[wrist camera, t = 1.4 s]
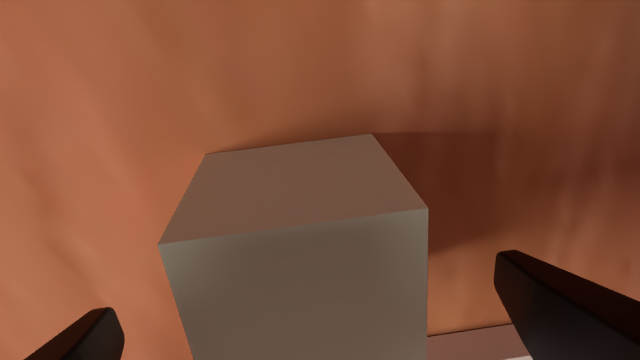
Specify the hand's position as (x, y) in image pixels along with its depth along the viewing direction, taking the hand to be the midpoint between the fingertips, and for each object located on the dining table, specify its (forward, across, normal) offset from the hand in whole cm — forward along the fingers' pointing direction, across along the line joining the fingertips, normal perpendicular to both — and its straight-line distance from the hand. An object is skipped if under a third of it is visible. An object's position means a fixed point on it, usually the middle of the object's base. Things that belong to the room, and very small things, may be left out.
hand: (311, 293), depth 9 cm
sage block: (+4, 0, 0) cm, 4 cm away
